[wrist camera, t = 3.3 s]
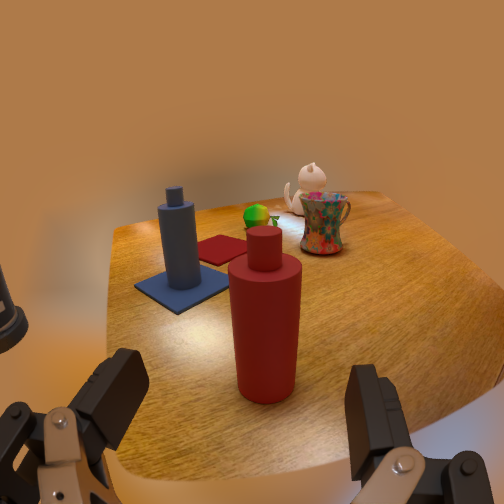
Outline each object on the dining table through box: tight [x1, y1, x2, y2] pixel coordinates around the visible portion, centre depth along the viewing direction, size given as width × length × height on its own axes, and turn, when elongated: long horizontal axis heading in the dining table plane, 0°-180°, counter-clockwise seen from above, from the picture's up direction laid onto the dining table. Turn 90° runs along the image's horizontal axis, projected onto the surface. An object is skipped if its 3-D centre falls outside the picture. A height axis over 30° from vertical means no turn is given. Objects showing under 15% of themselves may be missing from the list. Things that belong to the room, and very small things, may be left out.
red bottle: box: [228, 226, 302, 404], centre depth 22 cm, size 5×5×14 cm
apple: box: [243, 204, 280, 228], centre depth 69 cm, size 7×6×9 cm
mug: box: [299, 192, 351, 254], centre depth 55 cm, size 12×9×11 cm
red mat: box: [197, 235, 247, 266], centre depth 58 cm, size 12×12×1 cm
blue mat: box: [134, 265, 229, 315], centre depth 44 cm, size 12×12×1 cm
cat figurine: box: [284, 163, 327, 215], centre depth 80 cm, size 9×12×15 cm
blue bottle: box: [158, 186, 201, 290], centre depth 41 cm, size 5×5×14 cm
